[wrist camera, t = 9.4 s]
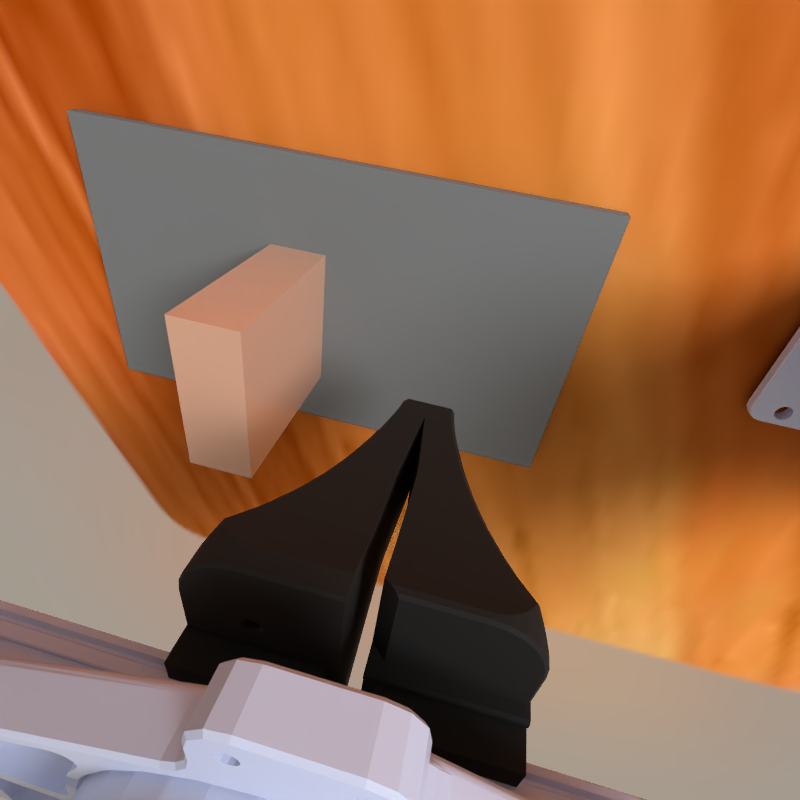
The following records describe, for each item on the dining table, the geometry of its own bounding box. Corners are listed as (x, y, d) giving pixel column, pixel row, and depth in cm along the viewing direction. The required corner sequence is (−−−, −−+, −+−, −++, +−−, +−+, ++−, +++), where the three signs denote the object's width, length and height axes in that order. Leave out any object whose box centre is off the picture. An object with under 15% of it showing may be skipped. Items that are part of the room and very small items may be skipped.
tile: (325, 255, 16) (240, 332, 11) (320, 376, 19) (251, 478, 14) (270, 244, 17) (164, 314, 12) (274, 365, 19) (190, 462, 15)
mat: (627, 212, 14) (630, 217, 14) (529, 459, 20) (529, 468, 19) (78, 109, 16) (67, 109, 15) (136, 363, 22) (128, 368, 21)
